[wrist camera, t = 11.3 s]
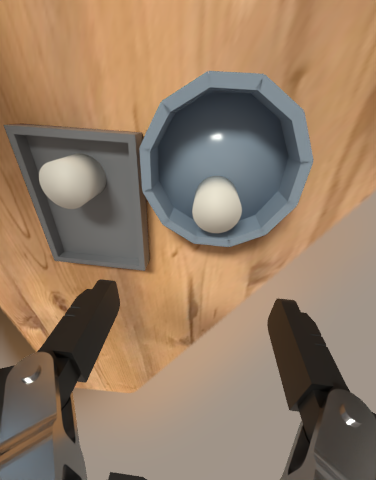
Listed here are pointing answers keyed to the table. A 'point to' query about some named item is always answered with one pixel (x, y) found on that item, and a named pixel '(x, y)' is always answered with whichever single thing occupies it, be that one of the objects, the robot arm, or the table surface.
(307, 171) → the bowl
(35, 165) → the parts tray
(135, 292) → the table surface
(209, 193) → the white marshmallow
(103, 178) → the marshmallow
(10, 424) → the robot arm
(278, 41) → the table surface
